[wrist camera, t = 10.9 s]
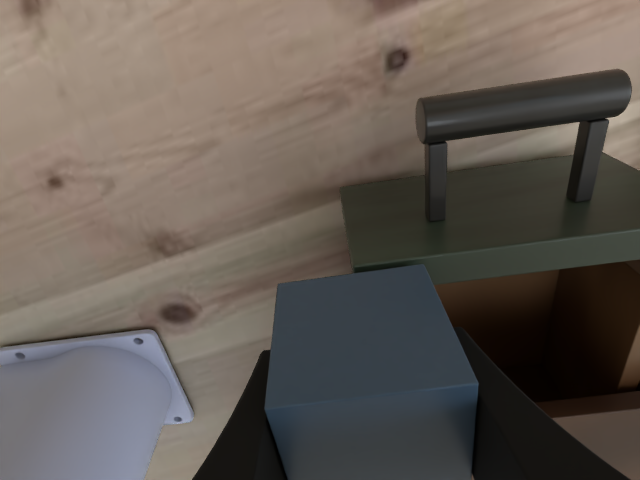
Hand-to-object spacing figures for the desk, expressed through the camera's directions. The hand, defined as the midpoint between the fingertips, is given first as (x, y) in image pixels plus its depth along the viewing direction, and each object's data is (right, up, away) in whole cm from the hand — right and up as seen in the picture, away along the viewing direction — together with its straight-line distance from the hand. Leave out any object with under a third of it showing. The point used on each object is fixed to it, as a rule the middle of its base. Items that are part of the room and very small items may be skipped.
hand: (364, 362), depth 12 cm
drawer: (+6, +3, +8) cm, 10 cm away
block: (0, +1, +2) cm, 2 cm away
